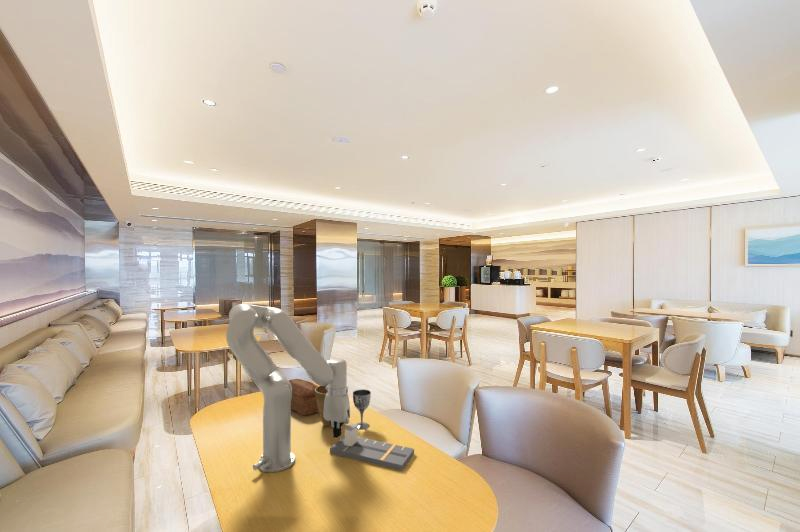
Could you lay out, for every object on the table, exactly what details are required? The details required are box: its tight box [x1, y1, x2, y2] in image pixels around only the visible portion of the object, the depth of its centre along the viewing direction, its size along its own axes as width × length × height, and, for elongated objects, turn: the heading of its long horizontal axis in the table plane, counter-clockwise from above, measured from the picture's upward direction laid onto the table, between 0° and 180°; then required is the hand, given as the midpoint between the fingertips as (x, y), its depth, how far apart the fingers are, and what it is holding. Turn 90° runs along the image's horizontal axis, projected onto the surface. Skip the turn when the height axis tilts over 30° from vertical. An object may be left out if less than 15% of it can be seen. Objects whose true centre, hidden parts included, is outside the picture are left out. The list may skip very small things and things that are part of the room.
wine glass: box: [352, 388, 372, 431], centre depth 157 cm, size 8×8×15 cm
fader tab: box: [344, 422, 359, 447], centre depth 137 cm, size 5×3×6 cm, turn 157°
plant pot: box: [315, 385, 349, 428], centre depth 160 cm, size 15×15×16 cm
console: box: [329, 435, 415, 472], centre depth 134 cm, size 12×30×2 cm, turn 67°
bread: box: [288, 378, 319, 416], centre depth 179 cm, size 14×28×12 cm, turn 44°
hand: (337, 436), depth 140 cm, fingers closed
